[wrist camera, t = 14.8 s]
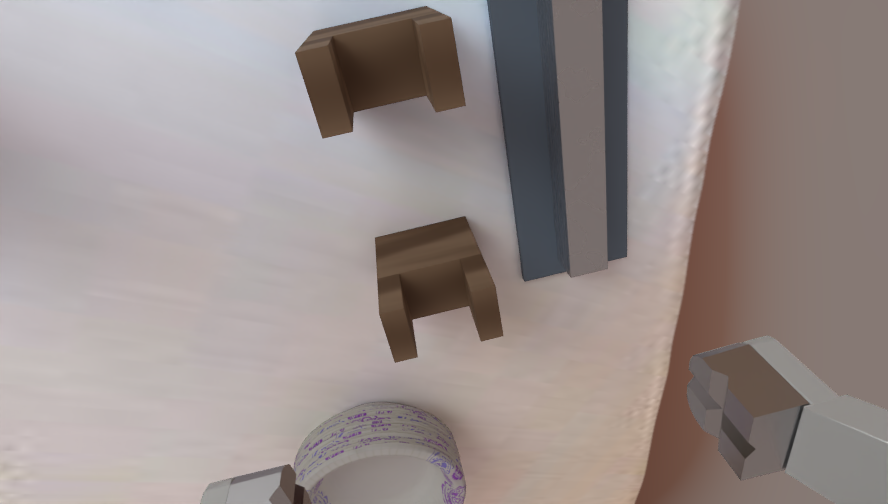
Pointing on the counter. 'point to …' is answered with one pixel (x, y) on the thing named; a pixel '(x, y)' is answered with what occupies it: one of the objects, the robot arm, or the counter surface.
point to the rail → (575, 129)
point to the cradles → (334, 102)
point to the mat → (528, 129)
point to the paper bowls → (381, 458)
